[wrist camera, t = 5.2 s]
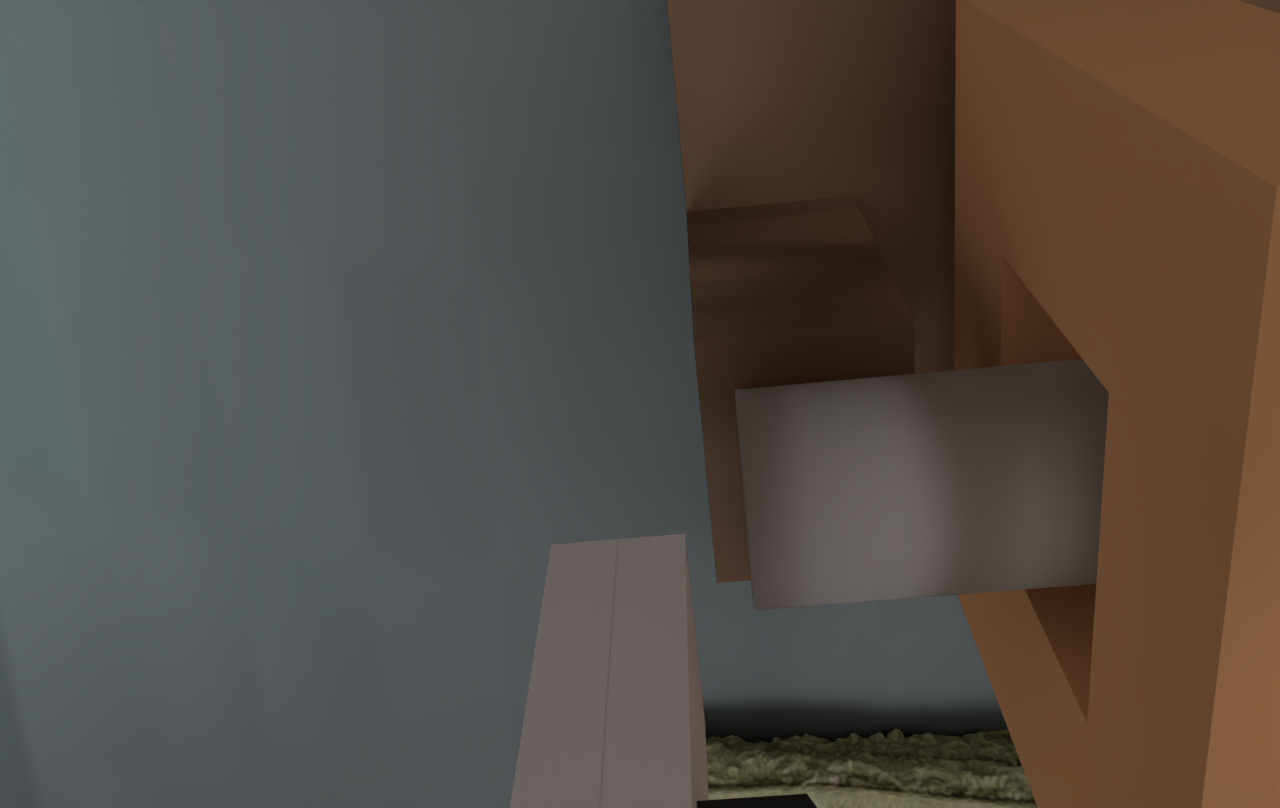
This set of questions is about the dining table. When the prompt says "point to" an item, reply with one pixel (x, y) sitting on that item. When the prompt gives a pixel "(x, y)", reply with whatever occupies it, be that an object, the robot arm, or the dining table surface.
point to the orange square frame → (1136, 380)
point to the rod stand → (859, 321)
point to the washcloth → (874, 770)
